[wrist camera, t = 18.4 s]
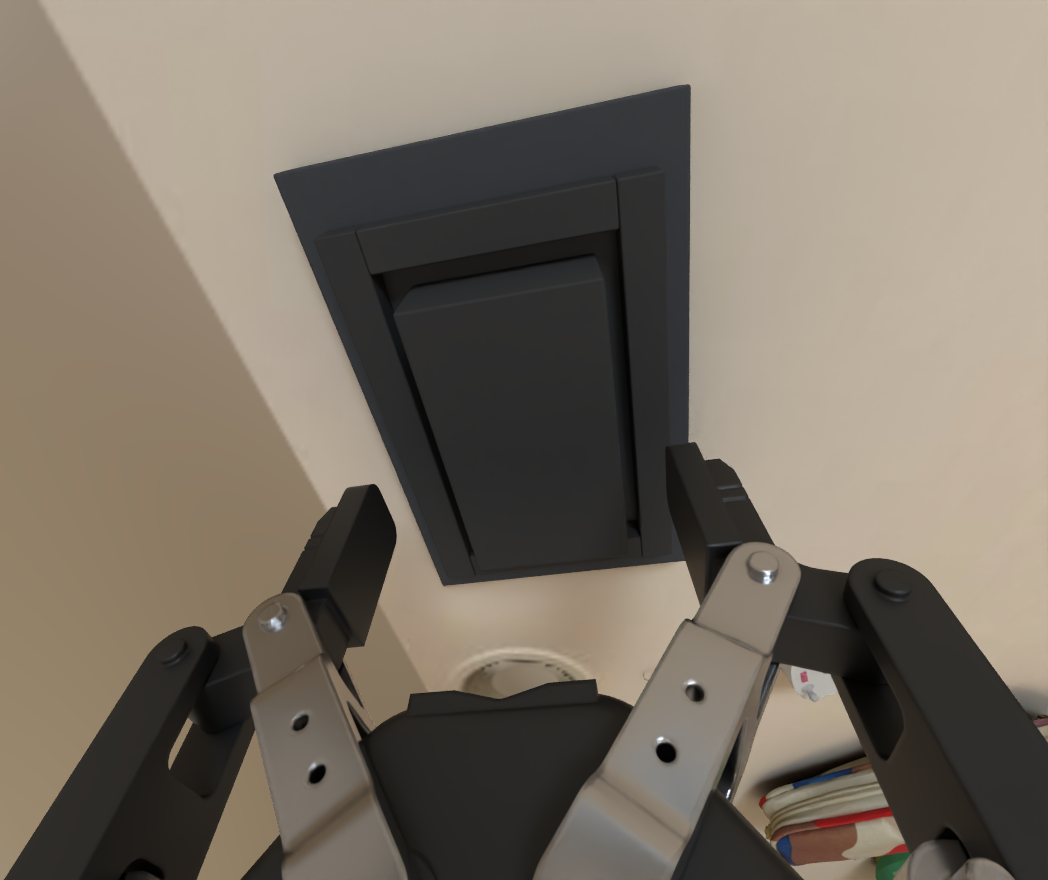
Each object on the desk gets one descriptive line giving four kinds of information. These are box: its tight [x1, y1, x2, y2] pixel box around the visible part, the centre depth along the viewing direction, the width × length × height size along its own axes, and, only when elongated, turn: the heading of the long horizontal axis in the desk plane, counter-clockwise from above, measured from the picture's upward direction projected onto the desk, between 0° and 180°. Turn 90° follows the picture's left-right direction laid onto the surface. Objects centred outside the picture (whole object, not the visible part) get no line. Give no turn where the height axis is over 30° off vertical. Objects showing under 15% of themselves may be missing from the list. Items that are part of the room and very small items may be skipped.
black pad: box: [393, 253, 629, 571], centre depth 16 cm, size 10×6×2 cm, turn 10°
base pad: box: [274, 84, 691, 586], centre depth 17 cm, size 17×11×2 cm, turn 10°
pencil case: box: [759, 715, 1048, 866], centre depth 31 cm, size 11×20×5 cm, turn 123°
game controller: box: [643, 664, 838, 702], centre depth 26 cm, size 6×12×3 cm, turn 130°
